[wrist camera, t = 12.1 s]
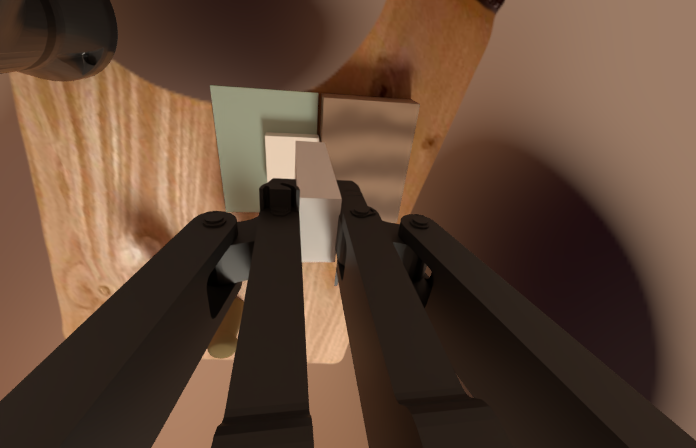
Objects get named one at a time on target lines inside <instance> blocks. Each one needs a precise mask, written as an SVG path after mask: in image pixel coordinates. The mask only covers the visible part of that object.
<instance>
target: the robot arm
mask: <svg viewBox="0 0 696 448" xmlns="http://www.w3.org/2000/svg"><path fill="white" fill-rule="evenodd" d="M117 39H118V30H117V22H116V17H115V13H114V10H113V7H112V4H111V2H110V0H0V74H2V73H9V72H15V71H17V72H21V73H24V74H27V75H31V76H34V77H38V78H41V79H46V80H51V81H74V80H79V79H84V78H88V77H91V76H94V75H96V74H98V73H99V72H101V71H102V70H103V69H104V68H105V67H106V66H107V65H108V64H109V63H110V61H111V60H112V58H113V56H114V53H115V50H116V46H117ZM259 201H260V213H259V216H258V217H256V218H254V219H251V220H247V221H242V222H237V219H236V217H235V216H234V215H232V214H231V213H227V212H222V211H213V212H211V211H210V212H206V213H203V214H200V215H198V216H197V217H195V218H194V219H193V220H191V221H190V222H189V223H188V224H187V225H186V226H185V227H184V228H183V229H182V230H181V231H180V232H179V233H178V234H177V235H176V236H175V237H174V238H172V239H171V240H170V241H169V242H168V243H167V244H166V245H165V246H164V247H163V248H162V249H161V250H160V251H159V252H158V253H157V254H156V255H154V256H153V257H152V258H151V259H150V260H149V261H148V262H147V263H146V264H145V265H144V266H143V267H142V268H141V269H140V270H139V271H138V272H136V273H135V274H134V275H133V276H132V277H131V278H130V279H129V280H128V281H127V282H126V283H125V284H124V285H123V286H122V287H121V288H120V289H119V290H117V291H116V292H115V293H114V294H113V295H112V296H111V297H110V298H109V299H108V300H107V301H106V302H105V303H104V304H103V305H102V306H101V307H99V308H98V309H97V310H96V311H95V312H94V313H93V314H92V315H91V316H90V317H89V318H88V319H87V320H86V321H85V322H84V323H83V324H81V325H80V326H79V327H78V328H77V329H76V330H75V331H74V332H73V333H72V334H71V335H70V336H69V337H68V338H67V339H66V340H65V341H64V342H63V343H61V344H60V345H59V346H58V347H57V348H56V349H55V350H54V351H53V352H52V353H51V354H50V355H49V356H48V357H47V358H46V359H45V360H44V361H42V362H41V363H40V364H39V365H38V366H37V367H36V368H35V369H34V370H33V371H32V372H31V373H30V374H29V375H28V376H26V377H25V378H24V380H22V381H21V382H20V383H19V384H18V385H17V386H16V387H15V388H14V389H13V390H12V391H11V392H10V393H9V394H7V395H6V396H5V397H4V398H3V399H2V400H1V401H0V448H151V447H152V445H153V444H154V442H155V440H156V438H157V437H158V435H159V433H160V431H161V429H162V428H163V426H164V424H165V422H166V420H167V419H168V417H169V415H170V413H171V412H172V410H173V408H174V406H175V404H176V403H177V401H178V399H179V397H180V395H181V394H182V392H183V390H184V388H185V387H186V385H187V383H188V381H189V379H190V378H191V376H192V374H193V372H194V371H195V369H196V367H197V365H198V363H199V362H200V360H201V358H202V356H203V355H204V353H205V351H206V349H207V347H208V346H209V344H210V342H211V340H212V338H213V337H214V335H215V333H216V331H217V330H218V328H219V326H220V324H221V322H222V321H223V319H224V317H225V315H226V313H227V312H228V310H229V308H230V306H231V305H232V303H233V301H234V299H235V297H236V296H237V294H238V292H239V290H240V289H241V285H242V281H245V280H248V282H247V288H246V294H245V300H244V305H243V311H242V317H241V323H240V328H239V334H238V340H237V346H236V352H235V357H234V363H233V369H232V375H231V381H230V387H229V392H228V398H227V403H226V409H225V414H224V418H223V421H222V423H221V424H220V425H219V426H218V427H217V429H216V432H215V434H214V437H213V442H212V446H211V448H314V440H313V426H312V418H311V415H310V412H309V399H308V379H307V358H306V338H305V317H304V297H303V277H302V262H335V256H336V254H337V268H336V276H335V285H334V286H337V284H338V283H339V288H340V293H341V299H342V304H343V310H344V315H345V320H346V326H347V331H348V337H349V342H350V347H351V353H352V358H353V364H354V369H355V375H356V380H357V386H358V390H359V396H360V402H361V407H362V413H363V418H364V423H365V428H366V434H367V440H368V445H369V448H696V441H695V440H694V439H693V438H692V437H691V436H689V435H688V434H687V433H686V432H685V431H683V430H682V429H681V428H680V427H679V426H678V425H676V424H675V423H674V422H673V421H672V420H670V419H669V418H668V417H667V416H666V415H664V414H663V413H662V412H661V411H660V410H658V409H657V408H656V407H655V406H654V405H652V404H651V403H650V402H649V401H648V400H647V399H645V398H644V397H643V396H642V395H641V394H639V393H638V392H637V391H636V390H635V389H633V388H632V387H631V386H630V385H629V384H627V383H626V382H625V381H624V380H623V379H622V378H620V377H619V376H618V375H617V374H616V373H614V372H613V371H612V370H611V369H610V368H608V367H607V366H606V365H605V364H604V363H602V362H601V361H600V360H599V359H598V358H597V357H595V356H594V355H593V354H592V353H590V352H589V351H588V350H587V349H586V348H585V347H583V346H582V345H581V344H580V343H579V342H577V341H576V340H575V339H574V338H572V337H571V336H570V335H569V334H568V333H567V332H565V331H564V330H563V329H562V328H561V327H560V326H558V325H557V324H556V323H555V322H554V321H552V320H551V319H550V318H549V317H548V316H546V315H545V314H544V313H543V312H542V311H541V310H539V309H538V308H537V307H536V306H534V305H533V304H532V303H531V302H530V301H529V300H527V299H526V298H525V297H524V296H523V295H521V294H520V293H519V292H518V291H517V290H515V289H514V288H513V287H512V286H510V284H508V283H507V282H506V281H505V280H503V279H502V278H501V277H500V276H499V275H498V274H496V273H495V272H494V271H493V270H491V269H490V268H489V267H488V266H487V265H486V264H485V263H483V262H482V261H481V260H480V259H479V258H477V257H476V256H475V255H474V254H473V253H471V252H470V251H469V250H468V249H467V248H465V247H464V246H463V245H462V244H461V243H459V242H458V241H457V240H456V239H455V238H454V237H452V236H451V235H450V234H449V233H447V232H446V231H445V230H444V229H443V228H441V227H440V226H439V225H438V224H437V223H435V222H434V221H433V220H431V219H430V218H427V217H425V216H423V215H418V214H414V215H413V214H409V215H405V216H403V217H402V218H401V222H400V224H395V223H390V222H386V221H383V220H382V219H381V217H380V215H379V213H378V212H377V211H376V210H375V209H373V208H372V207H369V206H367V203H366V201H365V199H364V197H363V194H362V192H361V190H360V188H359V185H357V184H356V183H355V182H353V181H349V180H336V178H335V175H334V172H333V168H332V165H331V162H330V158H329V155H328V152H327V149H326V145H325V142H309V141H296V144H295V179H281V178H273V179H271V180H270V181H269V182H268V183H265V184H263V185H261V187H260V188H259ZM427 266H428V267H429V268H430V269H431V271H432V273H431V276H430V277H429V276H427V274H426V273H425V270H426V267H427ZM456 374H457V375H458V377H459V378H460V379H461V381H462V382H463V384H464V385H465V386H466V388H467V389H468V390H469V392H470V393H471V394H472V396H473V397H474V398H471V397H469V396H468V395H467V394H466V393H465V391H464V389H463V388H462V386H461V384H460V382H459V379H458V378H457V375H456Z"/></svg>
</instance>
